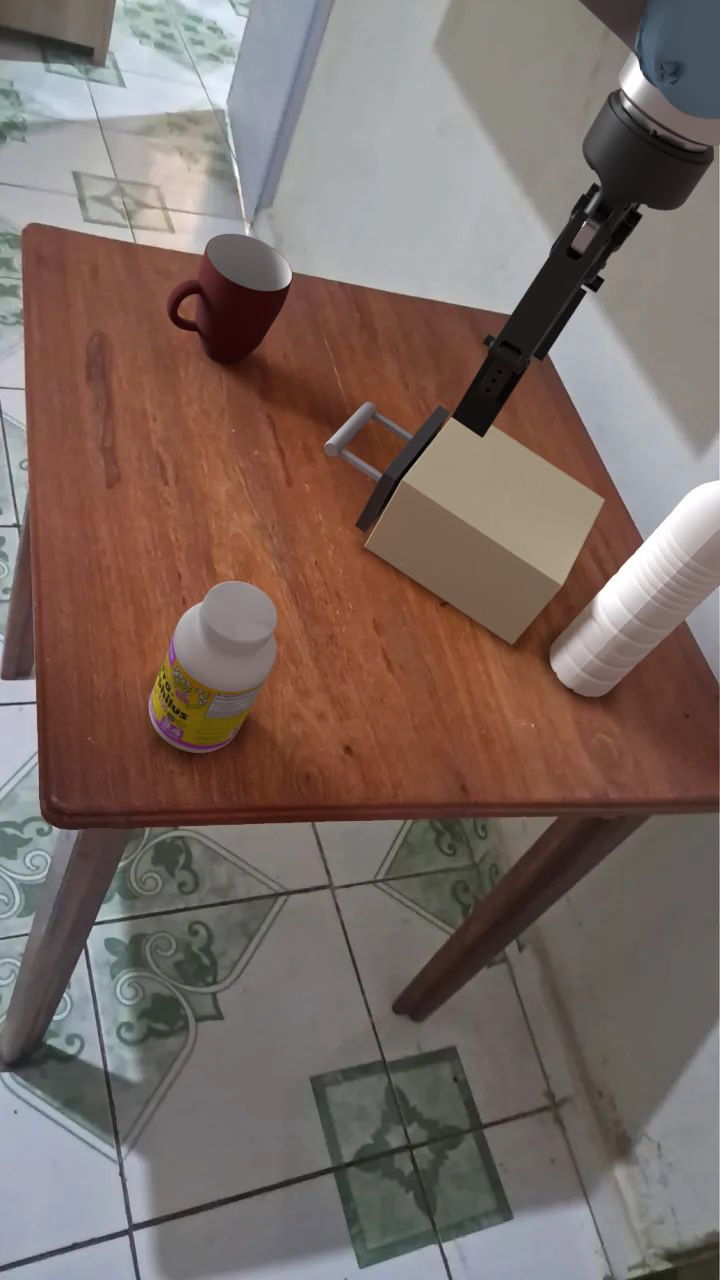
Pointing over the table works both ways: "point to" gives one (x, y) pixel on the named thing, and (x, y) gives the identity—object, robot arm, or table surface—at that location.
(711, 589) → the water bottle
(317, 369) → the table surface
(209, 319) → the mug
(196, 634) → the supplement bottle
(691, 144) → the robot arm
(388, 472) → the dark grey drawer
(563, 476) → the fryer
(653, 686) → the table surface
